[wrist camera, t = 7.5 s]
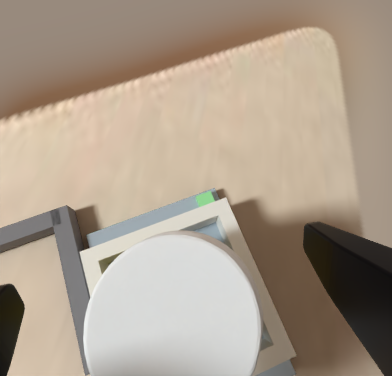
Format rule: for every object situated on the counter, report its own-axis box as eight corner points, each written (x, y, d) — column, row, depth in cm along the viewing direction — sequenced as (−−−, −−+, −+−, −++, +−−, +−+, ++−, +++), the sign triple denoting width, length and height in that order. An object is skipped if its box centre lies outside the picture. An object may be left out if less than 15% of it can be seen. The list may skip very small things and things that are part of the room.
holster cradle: (111, 360, 15) (105, 367, 13) (-66, 437, 13) (-89, 451, 12) (74, 210, 17) (66, 205, 16) (-75, 262, 16) (-95, 260, 15)
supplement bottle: (213, 240, 16) (241, 178, 7) (249, 336, 15) (347, 417, 5) (126, 271, 16) (32, 247, 6) (152, 376, 14) (73, 547, 5)
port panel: (292, 370, 15) (310, 386, 12) (142, 443, 13) (132, 474, 11) (214, 191, 18) (217, 177, 16) (89, 236, 17) (74, 229, 15)
